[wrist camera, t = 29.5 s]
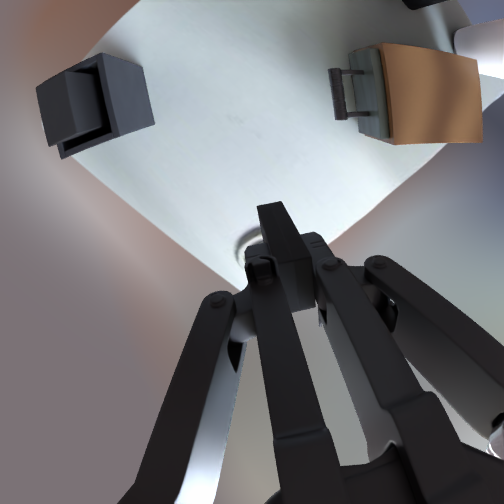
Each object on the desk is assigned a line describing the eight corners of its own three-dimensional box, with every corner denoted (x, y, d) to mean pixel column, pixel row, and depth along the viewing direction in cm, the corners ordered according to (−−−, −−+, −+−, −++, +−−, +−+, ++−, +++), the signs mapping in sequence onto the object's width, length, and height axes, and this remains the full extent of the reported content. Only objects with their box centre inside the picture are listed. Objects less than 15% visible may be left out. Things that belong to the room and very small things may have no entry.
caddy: (110, 139, 31) (60, 159, 20) (97, 84, 27) (42, 82, 16) (155, 124, 31) (120, 136, 20) (142, 66, 27) (101, 52, 16)
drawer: (328, 135, 32) (346, 142, 27) (315, 54, 27) (332, 47, 22) (442, 129, 32) (468, 136, 27) (436, 61, 27) (462, 61, 22)
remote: (117, 125, 30) (45, 148, 16) (108, 89, 27) (32, 88, 13) (139, 117, 30) (77, 133, 16) (131, 80, 27) (63, 70, 13)
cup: (457, 12, 23) (513, 5, 12) (490, 56, 26) (544, 61, 15) (436, 44, 26) (498, 40, 15) (472, 90, 30) (531, 101, 19)
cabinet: (364, 135, 34) (394, 145, 27) (353, 50, 28) (381, 42, 21) (449, 132, 33) (482, 142, 27) (442, 60, 28) (477, 59, 21)
